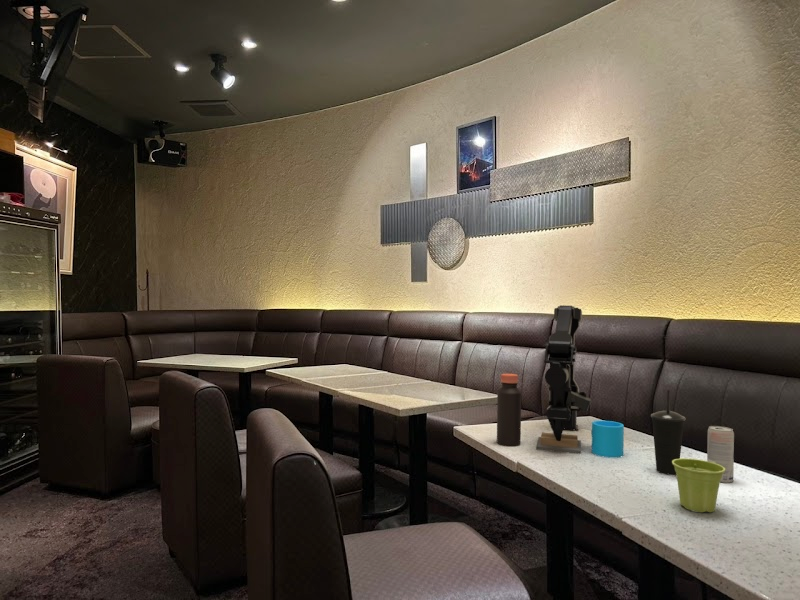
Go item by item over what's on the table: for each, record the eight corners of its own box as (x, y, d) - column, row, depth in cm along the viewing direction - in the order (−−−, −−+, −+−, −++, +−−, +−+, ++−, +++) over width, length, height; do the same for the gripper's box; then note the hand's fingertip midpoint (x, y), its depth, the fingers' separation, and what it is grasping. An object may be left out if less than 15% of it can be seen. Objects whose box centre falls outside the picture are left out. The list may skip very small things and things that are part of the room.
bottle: (492, 442, 158) (493, 374, 158) (506, 439, 162) (507, 372, 162) (511, 447, 152) (512, 376, 153) (525, 443, 157) (526, 375, 157)
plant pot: (677, 495, 116) (677, 455, 116) (728, 507, 110) (728, 464, 110) (666, 508, 108) (666, 465, 109) (720, 520, 102) (720, 475, 103)
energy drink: (729, 477, 129) (729, 426, 129) (736, 484, 124) (737, 431, 124) (704, 474, 131) (704, 425, 131) (710, 481, 125) (711, 430, 125)
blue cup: (629, 457, 145) (630, 426, 145) (601, 458, 144) (602, 427, 144) (605, 445, 157) (605, 417, 157) (579, 446, 155) (579, 417, 155)
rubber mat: (538, 439, 162) (538, 436, 162) (580, 443, 159) (580, 440, 159) (535, 449, 151) (535, 446, 151) (581, 453, 147) (581, 450, 147)
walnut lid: (541, 439, 160) (542, 432, 160) (577, 442, 156) (577, 435, 156) (540, 444, 153) (540, 437, 153) (577, 448, 150) (577, 440, 150)
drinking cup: (653, 475, 130) (654, 391, 130) (647, 465, 137) (648, 387, 137) (688, 477, 128) (689, 393, 128) (680, 468, 135) (681, 388, 135)
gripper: (590, 389, 144) (589, 448, 144) (588, 380, 161) (587, 432, 161) (546, 386, 147) (546, 444, 147) (550, 378, 165) (549, 429, 165)
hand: (558, 437), depth 155 cm, fingers open, 8 cm apart
